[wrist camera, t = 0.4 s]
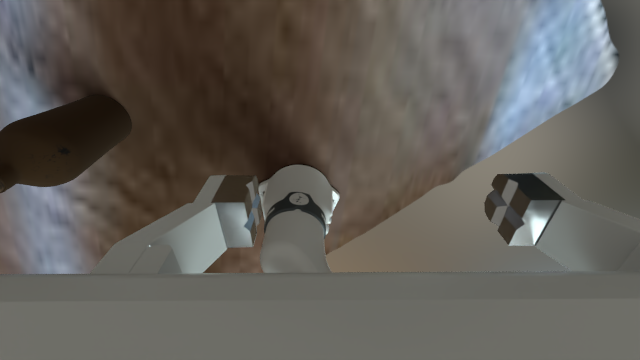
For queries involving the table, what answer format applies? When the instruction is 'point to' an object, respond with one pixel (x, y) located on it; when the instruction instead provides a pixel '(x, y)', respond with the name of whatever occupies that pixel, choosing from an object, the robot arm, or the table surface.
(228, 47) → the table surface
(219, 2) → the table surface
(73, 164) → the olive oil
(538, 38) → the table surface
